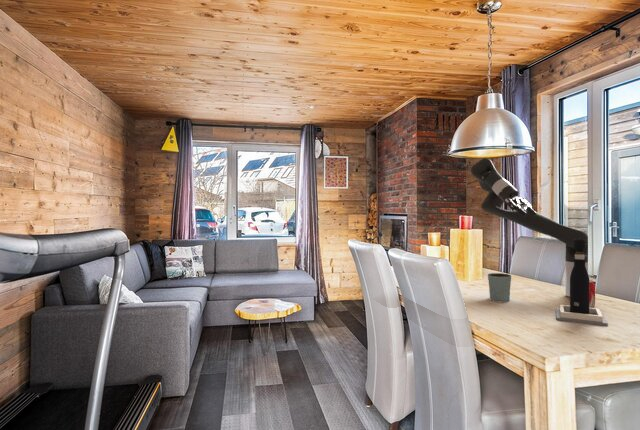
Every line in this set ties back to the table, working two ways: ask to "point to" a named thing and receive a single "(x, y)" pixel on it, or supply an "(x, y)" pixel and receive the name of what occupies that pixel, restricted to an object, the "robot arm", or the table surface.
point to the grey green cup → (499, 286)
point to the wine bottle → (579, 281)
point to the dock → (581, 316)
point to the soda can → (591, 294)
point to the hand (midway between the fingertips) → (530, 215)
